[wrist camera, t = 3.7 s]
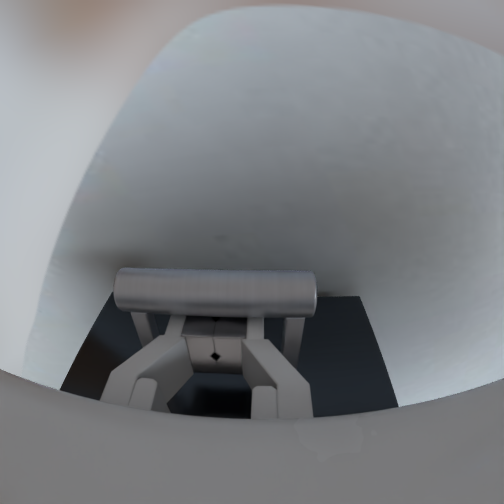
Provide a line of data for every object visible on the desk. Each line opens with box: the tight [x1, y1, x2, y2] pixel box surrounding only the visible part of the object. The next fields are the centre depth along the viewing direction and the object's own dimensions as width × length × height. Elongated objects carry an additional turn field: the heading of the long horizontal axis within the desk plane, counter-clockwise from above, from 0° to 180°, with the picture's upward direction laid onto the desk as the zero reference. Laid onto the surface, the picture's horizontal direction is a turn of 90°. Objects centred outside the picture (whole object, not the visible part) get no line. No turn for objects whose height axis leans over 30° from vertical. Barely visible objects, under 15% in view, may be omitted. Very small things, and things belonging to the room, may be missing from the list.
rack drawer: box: [60, 268, 399, 419], centre depth 14 cm, size 18×13×8 cm
